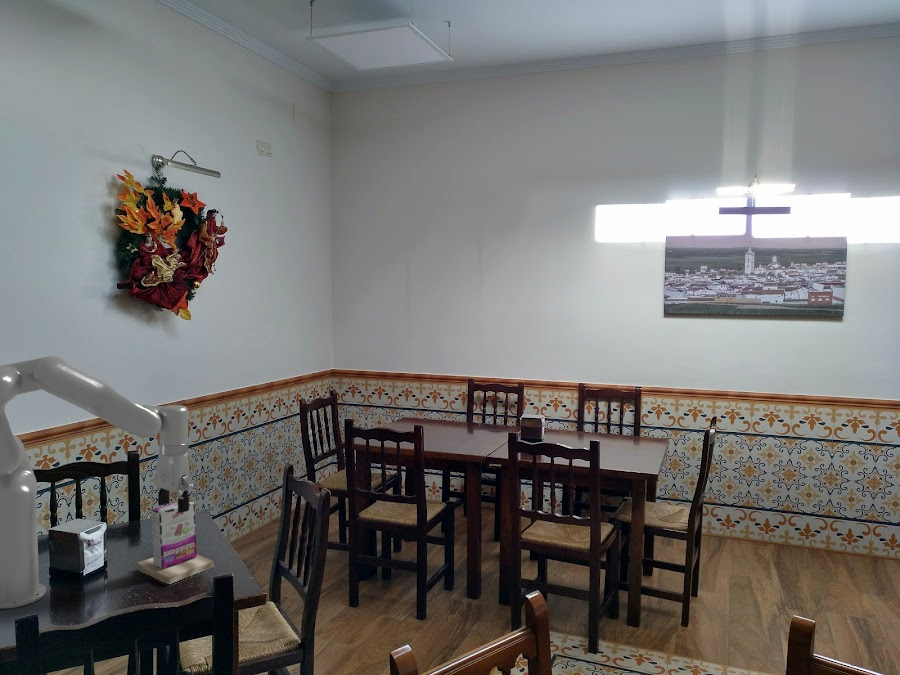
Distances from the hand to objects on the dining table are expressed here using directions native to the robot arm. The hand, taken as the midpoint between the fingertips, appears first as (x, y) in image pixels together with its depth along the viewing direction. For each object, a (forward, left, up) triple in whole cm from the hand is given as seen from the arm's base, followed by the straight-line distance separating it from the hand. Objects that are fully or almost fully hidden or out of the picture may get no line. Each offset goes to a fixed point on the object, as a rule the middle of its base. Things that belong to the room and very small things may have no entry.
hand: (173, 508), depth 194 cm
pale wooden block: (0, 0, -19) cm, 19 cm away
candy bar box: (0, 0, -16) cm, 16 cm away
